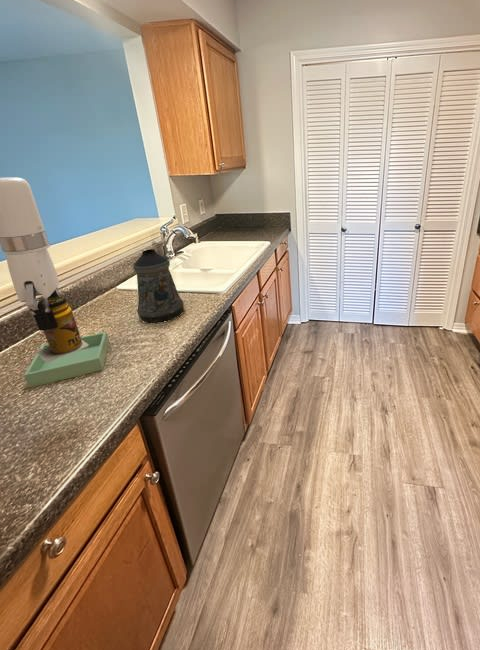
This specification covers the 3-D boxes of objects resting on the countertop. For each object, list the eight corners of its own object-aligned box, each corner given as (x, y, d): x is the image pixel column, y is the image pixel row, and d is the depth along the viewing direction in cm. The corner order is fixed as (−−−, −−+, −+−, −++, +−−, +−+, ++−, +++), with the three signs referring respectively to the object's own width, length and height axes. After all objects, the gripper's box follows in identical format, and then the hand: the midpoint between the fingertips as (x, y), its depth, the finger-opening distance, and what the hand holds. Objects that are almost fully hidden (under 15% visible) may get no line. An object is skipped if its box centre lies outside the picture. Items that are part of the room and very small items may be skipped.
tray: (29, 387, 87) (23, 375, 85) (46, 356, 101) (42, 344, 100) (102, 370, 93) (98, 358, 91) (109, 342, 107) (106, 331, 106)
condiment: (89, 345, 75) (74, 298, 70) (46, 363, 69) (26, 313, 64) (77, 336, 79) (61, 291, 75) (35, 352, 73) (16, 304, 68)
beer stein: (151, 328, 114) (134, 261, 105) (129, 313, 127) (112, 252, 117) (192, 312, 126) (180, 250, 116) (169, 299, 138) (156, 242, 128)
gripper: (18, 236, 71) (45, 309, 78) (-20, 256, 56) (18, 345, 63) (58, 232, 73) (81, 303, 80) (32, 250, 59) (63, 336, 65)
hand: (53, 321), depth 71 cm, fingers closed on condiment, 6 cm apart
